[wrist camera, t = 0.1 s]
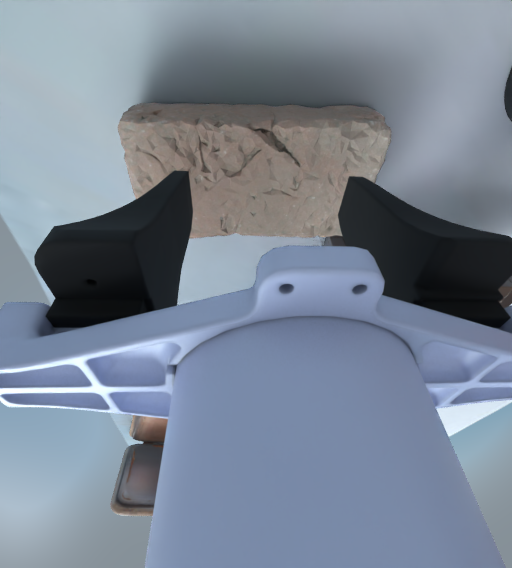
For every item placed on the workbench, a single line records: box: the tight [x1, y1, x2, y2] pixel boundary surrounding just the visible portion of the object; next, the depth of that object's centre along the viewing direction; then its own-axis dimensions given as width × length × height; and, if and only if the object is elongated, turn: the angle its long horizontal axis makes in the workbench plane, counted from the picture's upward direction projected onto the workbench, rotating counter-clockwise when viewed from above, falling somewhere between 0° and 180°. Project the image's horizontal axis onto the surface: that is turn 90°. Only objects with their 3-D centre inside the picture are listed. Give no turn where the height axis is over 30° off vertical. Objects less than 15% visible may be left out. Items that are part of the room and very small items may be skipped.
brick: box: [118, 103, 391, 238], centre depth 21 cm, size 17×8×5 cm, turn 88°
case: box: [111, 415, 168, 516], centre depth 56 cm, size 20×21×16 cm
